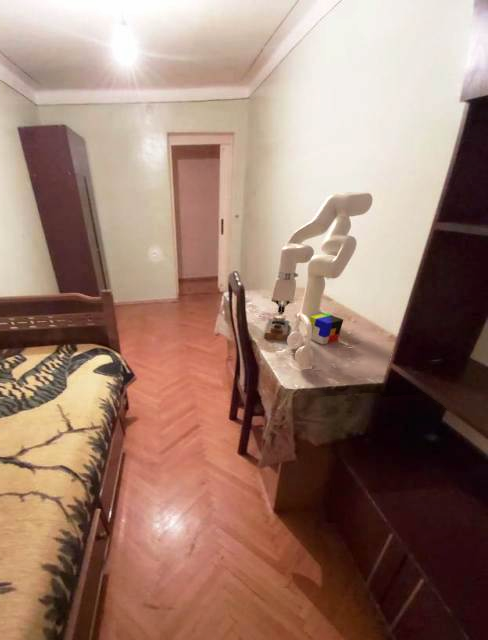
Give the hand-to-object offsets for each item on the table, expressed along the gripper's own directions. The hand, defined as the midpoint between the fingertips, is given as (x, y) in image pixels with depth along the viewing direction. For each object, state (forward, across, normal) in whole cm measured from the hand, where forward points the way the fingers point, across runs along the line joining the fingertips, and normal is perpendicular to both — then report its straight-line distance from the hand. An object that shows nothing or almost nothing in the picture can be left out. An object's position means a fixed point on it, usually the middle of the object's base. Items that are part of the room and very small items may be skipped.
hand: (280, 313), depth 159 cm
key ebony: (+3, 0, +12) cm, 12 cm away
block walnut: (+7, 0, +12) cm, 14 cm away
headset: (+6, -10, +35) cm, 37 cm away
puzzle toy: (+7, -20, +10) cm, 24 cm away
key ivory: (+3, 0, +1) cm, 3 cm away
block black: (+7, 0, +1) cm, 7 cm away
